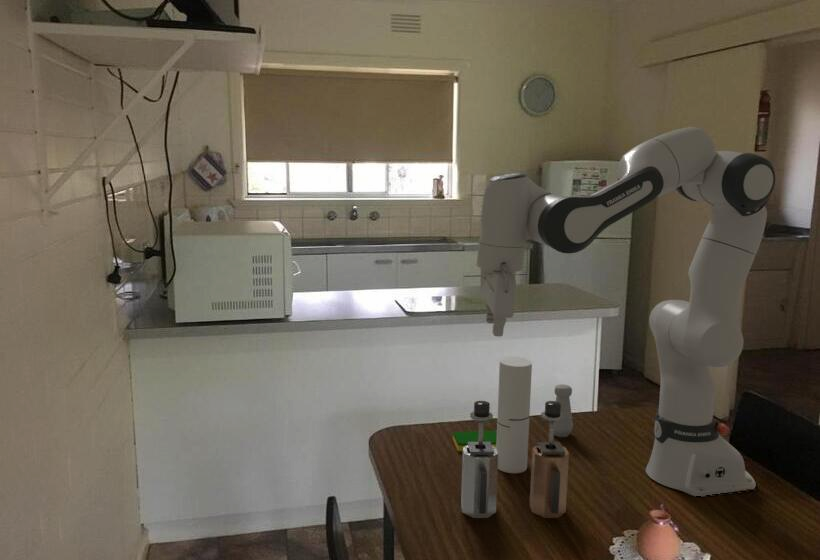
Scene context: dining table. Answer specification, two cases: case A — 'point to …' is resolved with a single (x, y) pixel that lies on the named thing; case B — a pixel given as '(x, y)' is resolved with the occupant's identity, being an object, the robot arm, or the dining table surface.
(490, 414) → the steel press plunger
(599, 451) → the dining table surface
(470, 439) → the dish sponge
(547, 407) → the copper press plunger
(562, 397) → the salt shaker
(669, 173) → the robot arm
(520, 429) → the cylindrical container
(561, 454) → the copper press carafe
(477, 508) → the steel press carafe
